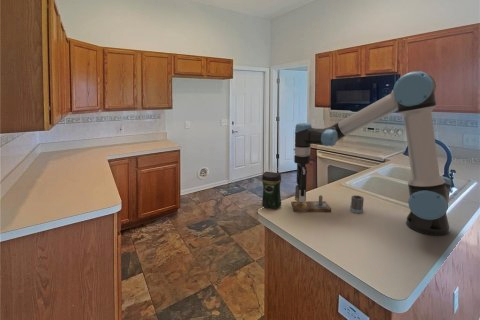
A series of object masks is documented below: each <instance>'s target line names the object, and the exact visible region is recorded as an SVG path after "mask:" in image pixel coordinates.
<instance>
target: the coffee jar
mask: <svg viewBox="0 0 480 320" xmlns="http://www.w3.org/2000/svg"><path fill="white" fill-rule="evenodd" d="M261 182H262V189H263V190H262V201H261V206H262V207H263V208H265V209H271V210H277V209H280V208H281V207H282V200H281V199H282V197H281V182H282V175H281V173H280V172H272V171H265V172H263V173H262V177H261Z"/></svg>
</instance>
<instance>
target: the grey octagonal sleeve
mask: <svg viewBox="0 0 480 320" xmlns="http://www.w3.org/2000/svg"><path fill="white" fill-rule="evenodd" d="M349 210H350V211H351V212H352V213H354V214H355V213H356V214H361V213H363V212H364V196H361V195H352V196H351V201H350V207H349Z"/></svg>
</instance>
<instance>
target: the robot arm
mask: <svg viewBox="0 0 480 320" xmlns="http://www.w3.org/2000/svg"><path fill="white" fill-rule="evenodd" d="M436 87H437V85H436V81H435V79H434V77H432V76H431V75H430V74H428V73H426V72H424V71H420V70H415V71H411V72H407V73H405V74H403V75H402V76H400V77H399V78H398V79H397V80H396V82H395V83H394V85H393V89H392V90H391V92H390V93H389V94H387V95H385V96H384V97H382V98H380V99H378V100H376V101H374V102H373V103H371V104H369V105H367V106H365V107H364V108H362V109H360V110H358V111H356V112H354V113H353V114H351V115H349V116H347V117H345V118H344V119H341V120H340V121H339V122H337V123H335V124H333V125H331V126H329V127H324V128H314V127H312V123H308V122H307V123H306V122H302V123H301V122H300V123H299V122H298V123H297V124H296V125H295V127H294V128H295V129H294V131H295V132H294V147H293V151H294V156H293V157H294V158H293V159H294V160H293V162H294V164H296V181H295V182H296V185H300V189H298V190H299V202H305V190H306V191H307V174H308V171H307V166H306V165H308V164H310V162H311V156H310V155H311V145H318V146H324V147H325V146H326V147H333V146H335V145H336V144H337V142H338V141H340V140H341V139H342V138H345V137H347V136H349V135H351V134H353V133H354V132H356V131H359V130H360V129H362V128H364V127H367V126H368V125H371V124H372V123H374V122H375V123H376V122H377V121H379V120H380V119H383V118H385V117H387V116H389V115H390V114H392V113H394V112H396V111H397V112H398V114H400V115H401V116H402V117H403V121H404V131H405V135H406V145H407V150H408V157H409V158H408V159H409V165H410V174H411V178H410V180H408V181H407V186H408V193H409V198H408V200H407V202H408V203H407V205H408V208H409V210H410V212H409V213H408V215H407V217H406V221H405V224H406V225H407V227H408V228H410V229H411V230H413V231H416V232H417V233H421V234H424V235H429V236H436V237H437V236H438V237H439V236H445V235H448V234H449V231H450V223H449V221H448V220H449V219H448V216H447V211H448V209H449V200H450V193H451V187H452V179H451V178H449V177H447V176H442V175H440V170H439V169H440V168H439V162H438V154H437V146H436V138H435V137H436V136H435V129H434V123H433V110H434V109H435V108H436V107H437V102H436V93H435V92H436Z"/></svg>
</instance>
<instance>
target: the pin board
mask: <svg viewBox="0 0 480 320" xmlns="http://www.w3.org/2000/svg"><path fill="white" fill-rule="evenodd" d="M323 199H324V198H323V195H322V194H321V195H319V196H318V201H314V200H313V201H308V200H306V201H305V202H298V201H296V200H294V201H291V207H292V210H293V212H294V213H331V212H332V209H331V207H330V206H329V204H328V202H326V201H325V200H323Z"/></svg>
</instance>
